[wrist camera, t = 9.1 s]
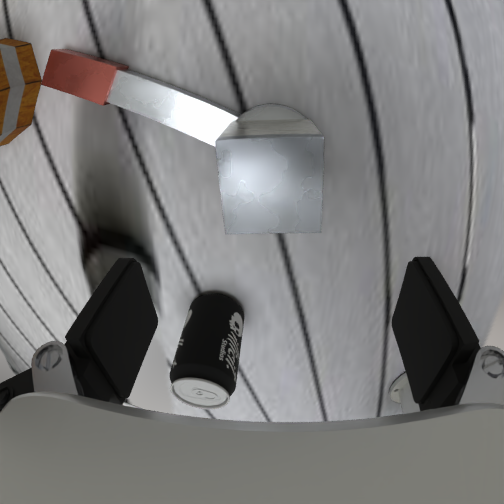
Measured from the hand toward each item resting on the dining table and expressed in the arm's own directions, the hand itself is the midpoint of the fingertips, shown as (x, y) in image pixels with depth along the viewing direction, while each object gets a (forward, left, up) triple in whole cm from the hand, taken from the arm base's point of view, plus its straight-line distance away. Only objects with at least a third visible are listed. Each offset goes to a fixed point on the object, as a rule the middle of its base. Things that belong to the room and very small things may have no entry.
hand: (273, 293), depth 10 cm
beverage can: (+7, +19, -19) cm, 27 cm away
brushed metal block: (0, 0, -16) cm, 16 cm away
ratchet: (+8, -5, -18) cm, 21 cm away
